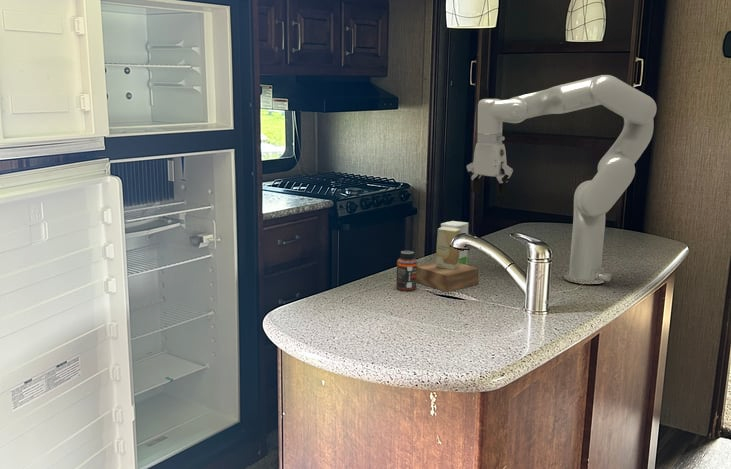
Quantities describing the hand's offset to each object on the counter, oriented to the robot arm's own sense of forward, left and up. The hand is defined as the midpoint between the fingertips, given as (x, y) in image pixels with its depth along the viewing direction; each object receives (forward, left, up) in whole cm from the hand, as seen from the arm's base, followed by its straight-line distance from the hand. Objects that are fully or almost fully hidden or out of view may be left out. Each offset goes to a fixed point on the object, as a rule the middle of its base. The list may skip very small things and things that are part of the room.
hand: (488, 193), depth 226 cm
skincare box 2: (+11, +3, -27) cm, 29 cm away
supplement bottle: (+4, +31, -27) cm, 41 cm away
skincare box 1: (+1, +17, -22) cm, 27 cm away
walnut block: (+1, +17, -26) cm, 31 cm away
